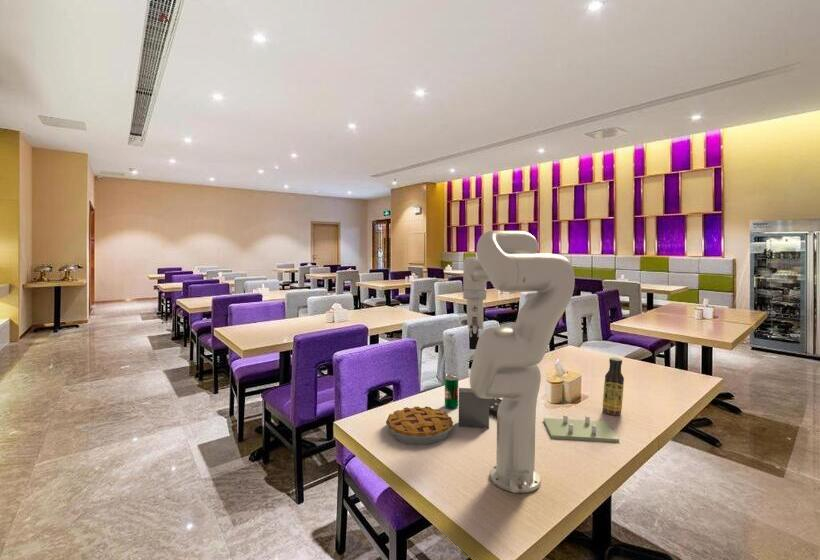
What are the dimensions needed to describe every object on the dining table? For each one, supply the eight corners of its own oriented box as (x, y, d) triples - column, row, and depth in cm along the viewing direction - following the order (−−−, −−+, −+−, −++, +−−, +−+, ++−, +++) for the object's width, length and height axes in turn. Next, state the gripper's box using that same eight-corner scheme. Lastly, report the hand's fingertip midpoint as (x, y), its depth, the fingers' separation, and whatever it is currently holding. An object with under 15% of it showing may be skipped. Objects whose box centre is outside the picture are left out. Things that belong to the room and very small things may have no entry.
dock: (619, 442, 123) (619, 431, 123) (551, 438, 126) (551, 427, 126) (604, 424, 136) (605, 414, 136) (543, 420, 139) (543, 411, 139)
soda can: (442, 405, 153) (442, 374, 152) (454, 403, 155) (454, 372, 154) (448, 410, 148) (448, 378, 148) (460, 408, 150) (460, 376, 149)
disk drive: (475, 409, 150) (506, 423, 138) (475, 402, 150) (506, 415, 138) (495, 403, 156) (526, 416, 144) (495, 396, 156) (526, 408, 144)
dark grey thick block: (489, 428, 133) (489, 393, 132) (458, 427, 135) (458, 391, 134) (488, 423, 137) (488, 389, 136) (458, 421, 138) (459, 387, 138)
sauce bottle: (602, 414, 144) (603, 359, 143) (602, 408, 150) (604, 355, 148) (622, 417, 141) (624, 362, 140) (622, 411, 147) (624, 357, 145)
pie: (435, 413, 146) (435, 400, 146) (465, 440, 126) (465, 424, 125) (377, 423, 138) (377, 409, 138) (399, 453, 118) (399, 436, 117)
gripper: (487, 298, 123) (486, 352, 125) (485, 291, 141) (484, 339, 142) (463, 297, 125) (462, 351, 126) (463, 291, 142) (462, 339, 143)
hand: (474, 345), depth 134 cm, fingers open, 9 cm apart
